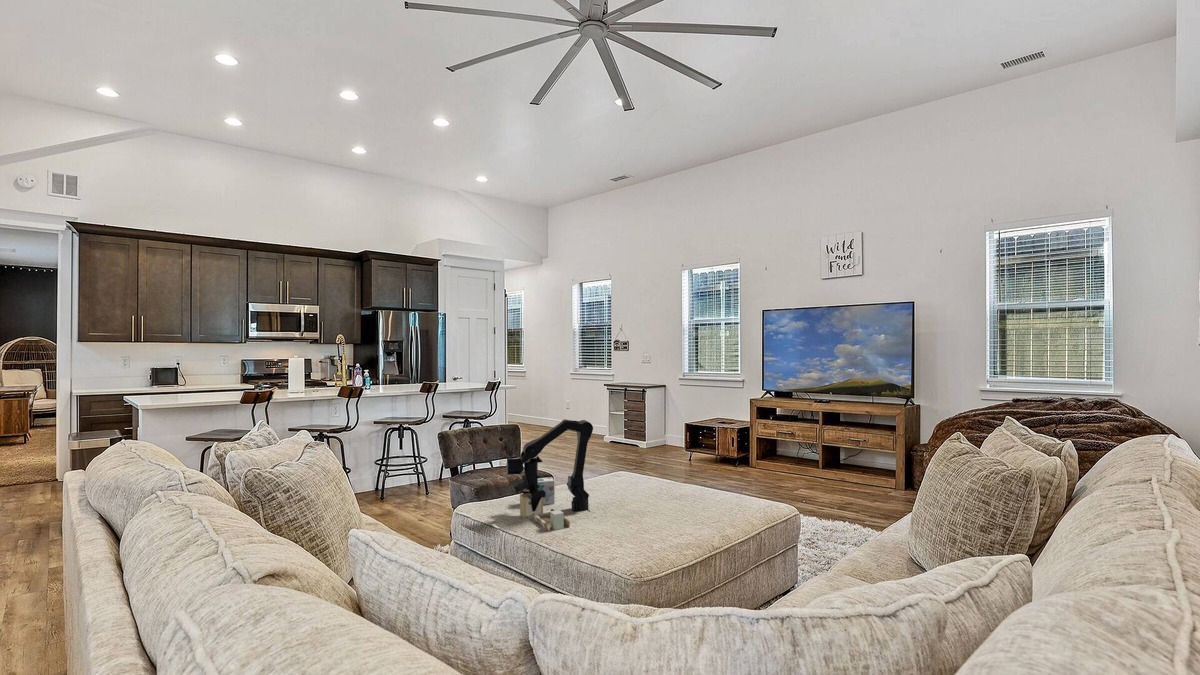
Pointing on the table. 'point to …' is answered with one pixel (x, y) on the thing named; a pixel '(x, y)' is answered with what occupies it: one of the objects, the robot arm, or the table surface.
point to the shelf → (548, 521)
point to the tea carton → (529, 506)
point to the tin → (556, 519)
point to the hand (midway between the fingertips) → (531, 509)
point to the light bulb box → (547, 489)
